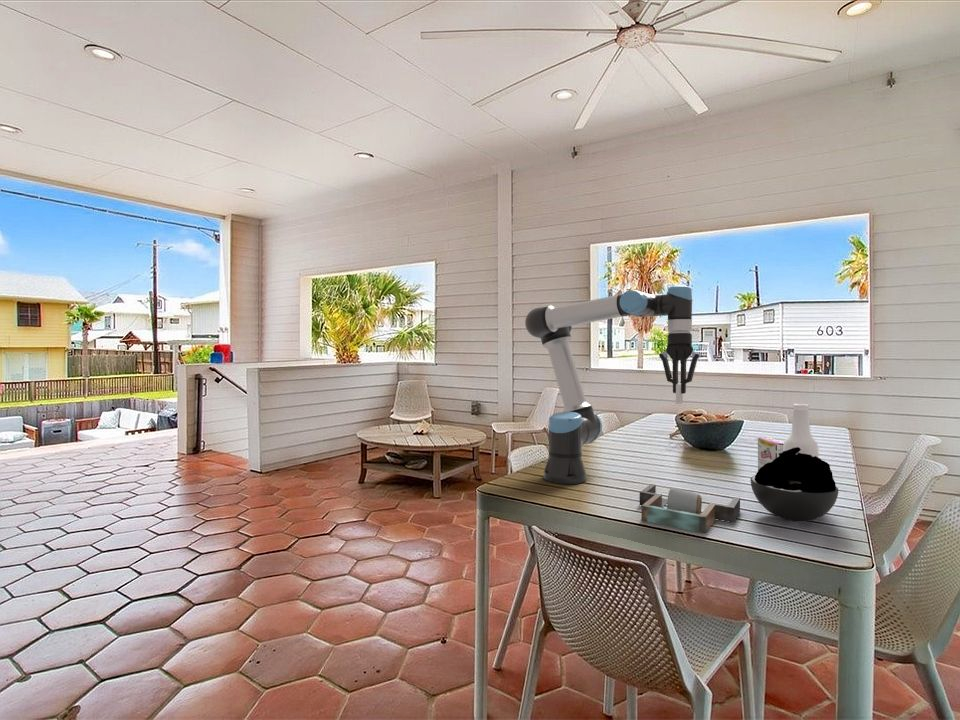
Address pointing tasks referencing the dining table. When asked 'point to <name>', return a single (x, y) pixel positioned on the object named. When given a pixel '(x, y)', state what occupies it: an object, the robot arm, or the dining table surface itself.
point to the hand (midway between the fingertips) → (679, 403)
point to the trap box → (681, 519)
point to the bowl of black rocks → (795, 486)
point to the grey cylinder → (684, 501)
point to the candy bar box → (768, 450)
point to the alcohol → (801, 432)
